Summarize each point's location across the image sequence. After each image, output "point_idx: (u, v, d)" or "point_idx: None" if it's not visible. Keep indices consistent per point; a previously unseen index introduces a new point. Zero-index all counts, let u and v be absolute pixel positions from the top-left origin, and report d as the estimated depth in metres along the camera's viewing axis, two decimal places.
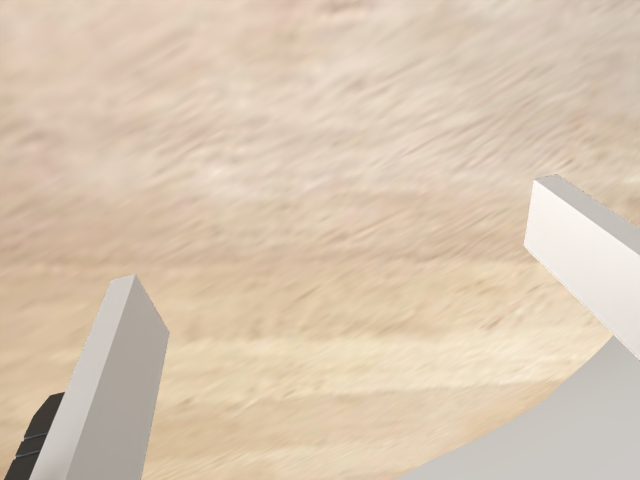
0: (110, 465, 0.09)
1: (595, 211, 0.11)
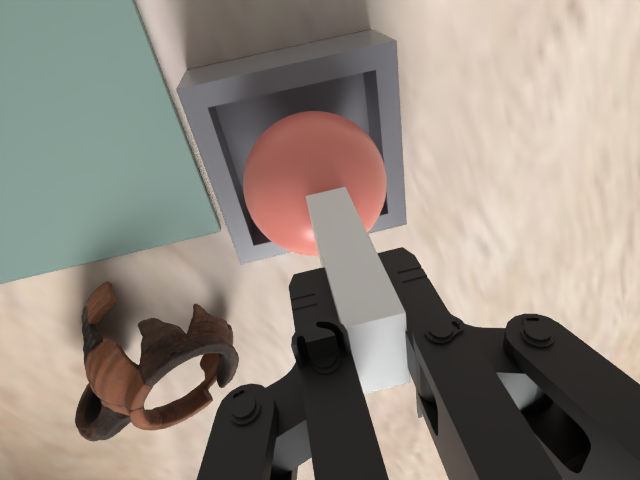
0: None
1: (348, 220, 0.13)
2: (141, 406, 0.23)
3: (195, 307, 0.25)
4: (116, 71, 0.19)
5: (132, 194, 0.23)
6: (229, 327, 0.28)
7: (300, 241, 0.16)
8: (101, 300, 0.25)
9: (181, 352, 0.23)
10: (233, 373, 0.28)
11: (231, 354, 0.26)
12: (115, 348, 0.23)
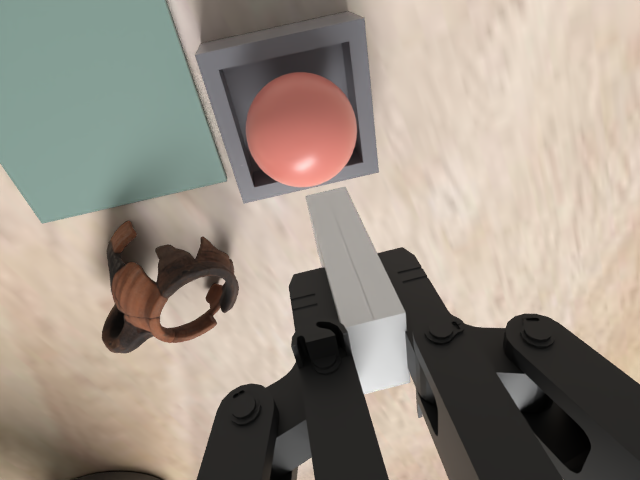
0: None
1: (348, 220, 0.13)
2: (158, 316, 0.28)
3: (202, 239, 0.30)
4: (146, 43, 0.24)
5: (155, 146, 0.28)
6: (230, 261, 0.33)
7: (289, 170, 0.21)
8: (124, 233, 0.30)
9: (191, 271, 0.28)
10: (234, 300, 0.33)
11: (232, 280, 0.31)
12: (137, 267, 0.28)
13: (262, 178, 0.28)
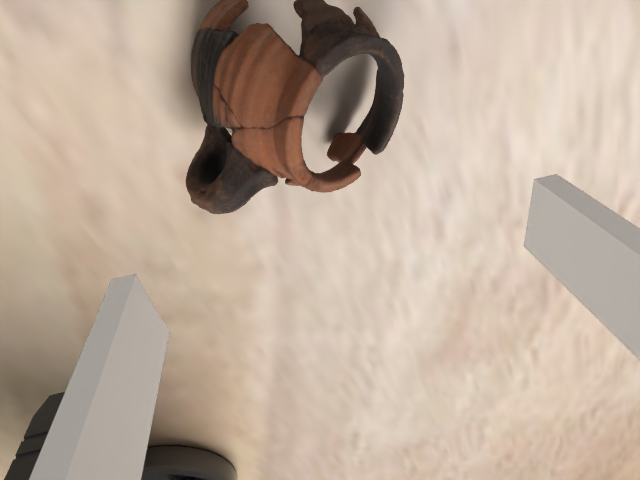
0: (110, 465, 0.09)
1: (595, 211, 0.11)
2: (303, 113, 0.16)
3: (358, 9, 0.18)
4: None
5: None
6: None
7: None
8: (228, 2, 0.18)
9: (361, 33, 0.16)
10: (390, 134, 0.21)
11: (400, 87, 0.19)
12: (266, 27, 0.16)
13: None
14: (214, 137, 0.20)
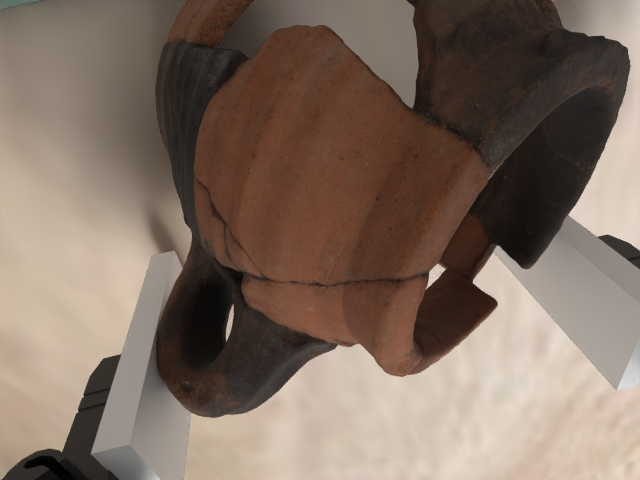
0: (165, 419, 0.10)
1: None
2: (432, 266, 0.06)
3: None
4: None
5: None
6: None
7: None
8: None
9: (590, 37, 0.06)
10: None
11: (603, 146, 0.09)
12: (324, 36, 0.06)
13: None
14: None
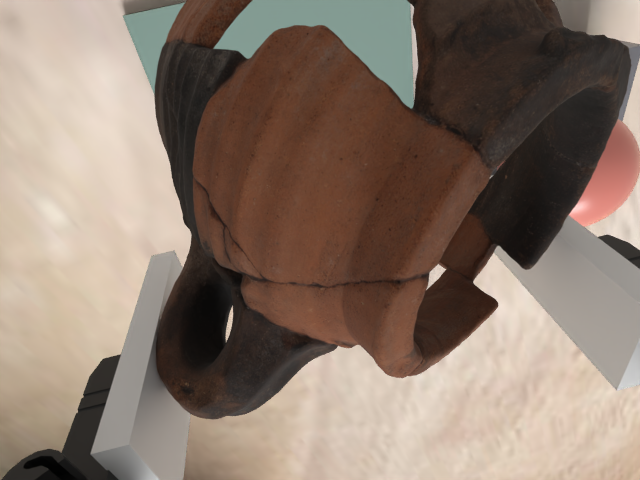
0: (165, 419, 0.10)
1: None
2: (432, 267, 0.06)
3: None
4: (379, 71, 0.22)
5: None
6: None
7: (574, 214, 0.19)
8: None
9: (591, 36, 0.06)
10: None
11: (604, 146, 0.09)
12: (322, 36, 0.06)
13: None
14: None
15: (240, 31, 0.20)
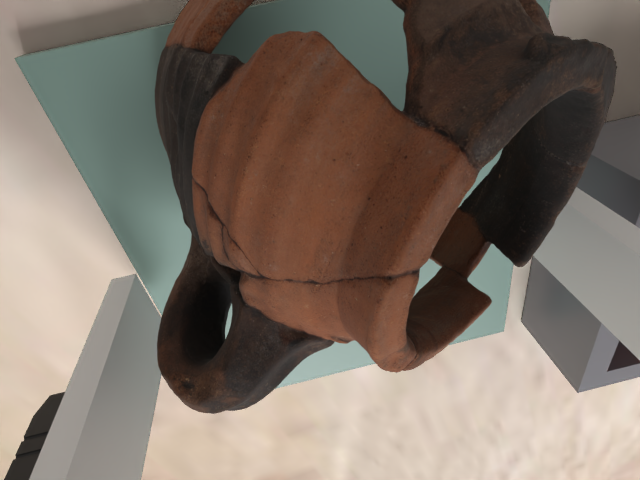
0: (110, 465, 0.09)
1: (595, 211, 0.11)
2: (422, 263, 0.06)
3: None
4: None
5: None
6: None
7: None
8: None
9: (574, 40, 0.06)
10: None
11: (593, 145, 0.09)
12: (315, 42, 0.06)
13: None
14: None
15: None
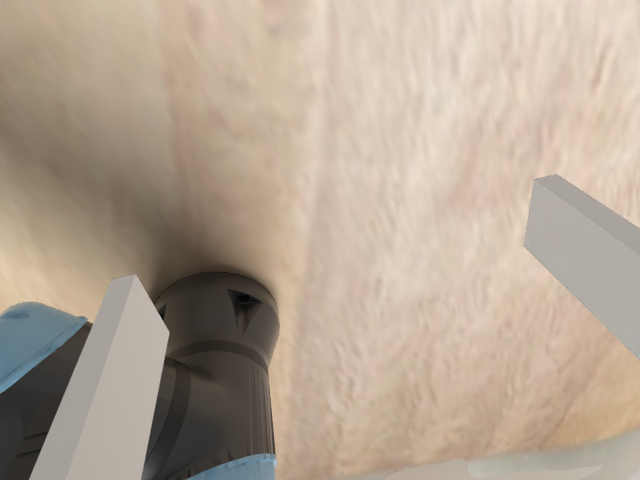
0: (110, 465, 0.09)
1: (595, 211, 0.11)
2: None
3: None
4: None
5: None
6: None
7: None
8: None
9: None
10: None
11: None
12: None
13: None
14: None
15: None
